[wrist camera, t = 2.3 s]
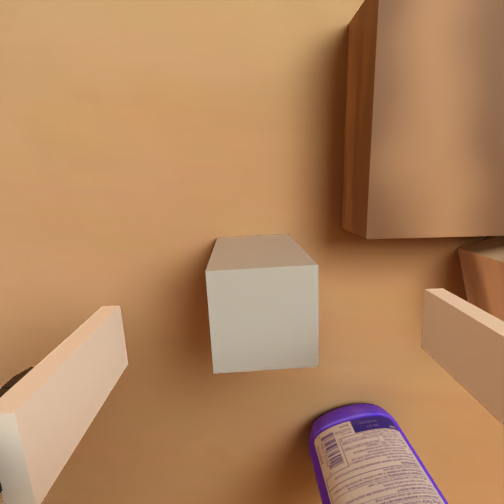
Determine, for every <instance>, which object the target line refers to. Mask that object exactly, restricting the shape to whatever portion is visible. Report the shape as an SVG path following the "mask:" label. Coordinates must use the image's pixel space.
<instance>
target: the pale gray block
mask: <svg viewBox="0 0 504 504" xmlns="http://www.w3.org/2000/svg"><path fill="white" fill-rule="evenodd" d="M205 274H206V286H207V299H208V311H209V324H210V336H211V349H212V362H213V374H216V373H231V372H246V371H261V370H276V369H291V368H306V367H319V308H318V264H317V263H316V262H315V261H314V260H313V259H312V258H311V257H310V256H309V255H308V254H307V253H306V252H305V251H304V250H303V249H302V248H301V247H300V245H299V244H298V243H297V242H296V241H295V240H294V239H293V238H292V237H291V236H290V235H289V234H273V235H254V236H236V237H218V238H217V240H216V243H215V246H214V249H213V251H212V254H211V257H210V260H209V262H208V265H207V268H206V271H205Z"/></svg>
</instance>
